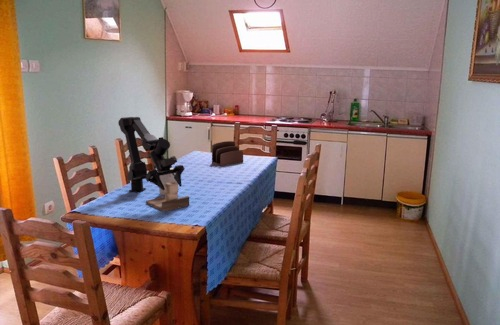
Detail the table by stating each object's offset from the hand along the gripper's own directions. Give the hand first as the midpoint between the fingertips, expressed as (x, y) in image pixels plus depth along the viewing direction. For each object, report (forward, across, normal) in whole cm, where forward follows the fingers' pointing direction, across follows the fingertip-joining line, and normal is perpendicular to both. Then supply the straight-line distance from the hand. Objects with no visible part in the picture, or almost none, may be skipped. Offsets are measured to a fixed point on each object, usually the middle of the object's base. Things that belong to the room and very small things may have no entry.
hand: (172, 187), depth 199 cm
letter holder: (-30, +78, +44) cm, 95 cm away
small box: (-7, +10, +20) cm, 24 cm away
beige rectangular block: (+5, 0, +7) cm, 8 cm away
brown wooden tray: (+3, 0, +10) cm, 10 cm away
